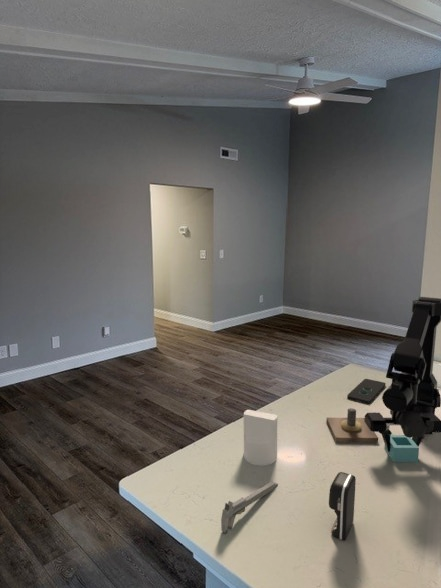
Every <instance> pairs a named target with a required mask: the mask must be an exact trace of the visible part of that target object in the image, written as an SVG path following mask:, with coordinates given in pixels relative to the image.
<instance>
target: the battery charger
mask: <svg viewBox="0 0 441 588" xmlns="http://www.w3.org/2000/svg"><path fill="white" fill-rule="evenodd" d="M328 495H329V497H328V506H329V509H332V510H334V511H333V512H334V514H335V515H336V519H335V520H334V523H333V525H332V527H331V529H330V532H331V535H332V536H334V537H335V538H337V539H339V540H341V541H346V539H347V537H348V535H349V533H350V530H351V527H352V526H353V523H354V519H355V518H354V517H355V516H354V515H355V500H356V476H355V475H353V474H351V473H346V472H343V471H339V472H337V474H336V476H335V478H334V480H333V481H332V482H331V484H330V487H329V493H328Z"/></svg>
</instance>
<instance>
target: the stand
mask: <svg viewBox="0 0 441 588" xmlns="http://www.w3.org/2000/svg"><path fill="white" fill-rule="evenodd" d="M364 419H365V417H357V410H356V409H355V408H352V407H350V408H348V409H347V417H326V420H325V421H326V424H327V426H328V429H329V430H330V431H329V432H330V433H331V435H332V437H333V440H334V442H335V443H353V444H354V443H357V444H358V443H362V444H363V443H364V444H365V443H368V444H371V443H374V444H376V443H377V444H378V443H379V437H378V435H377V433H376V432H373V431H370V429H369V428H368V426H367V425H366V423H365V421H364Z"/></svg>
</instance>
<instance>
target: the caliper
mask: <svg viewBox="0 0 441 588" xmlns="http://www.w3.org/2000/svg"><path fill="white" fill-rule="evenodd" d="M278 485H279V483H278V482H275V481H270V482H268V483H267V484H264V485H263V486H262V487H260V488H258V489H256V490H255V491H253V492H251V494H248V495H247V496H245V497H240V498H239V499H237V500H235V501H234V502H233V501H231V500H228V503H227V502H225V503H224V508H223V509H222V513H221V518H220V519H221V521H220V522H221V529H220V530H221V532H223V533H224V534H227V533H228V530H233V528H234V527H233V525H234V524H235V523H234V522H235V519H236V516H237V515H241V514H242V513H244V512H245V511H246V508H247V507H248V506H250V505H251V504H254V503H255V502H257V500H259V499H261V498H262V497H265V496H266V495H267V494H269V493H271V492H272V491H273V490H274V489H275V488H276V487H278Z"/></svg>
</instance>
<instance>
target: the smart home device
mask: <svg viewBox="0 0 441 588" xmlns="http://www.w3.org/2000/svg"><path fill="white" fill-rule="evenodd" d="M384 387H385V388H386V382H384V381H378V380H374V379H369V378H364V379H363V380H362V381H361V382H360V383H358V384H357V386H355V387H354V388H353V389H352V390H351V391H350V392H348V394H347V398H346V400H347V399H348V400H351V401H354V402H359V403H362V404H366V405H369V404H371V403H372V402H373V401H374V400H375V399H376V398H377V396H378V395H379V394H380V393H381V392H382V391H383V390H384V389H385V388H384Z"/></svg>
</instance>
